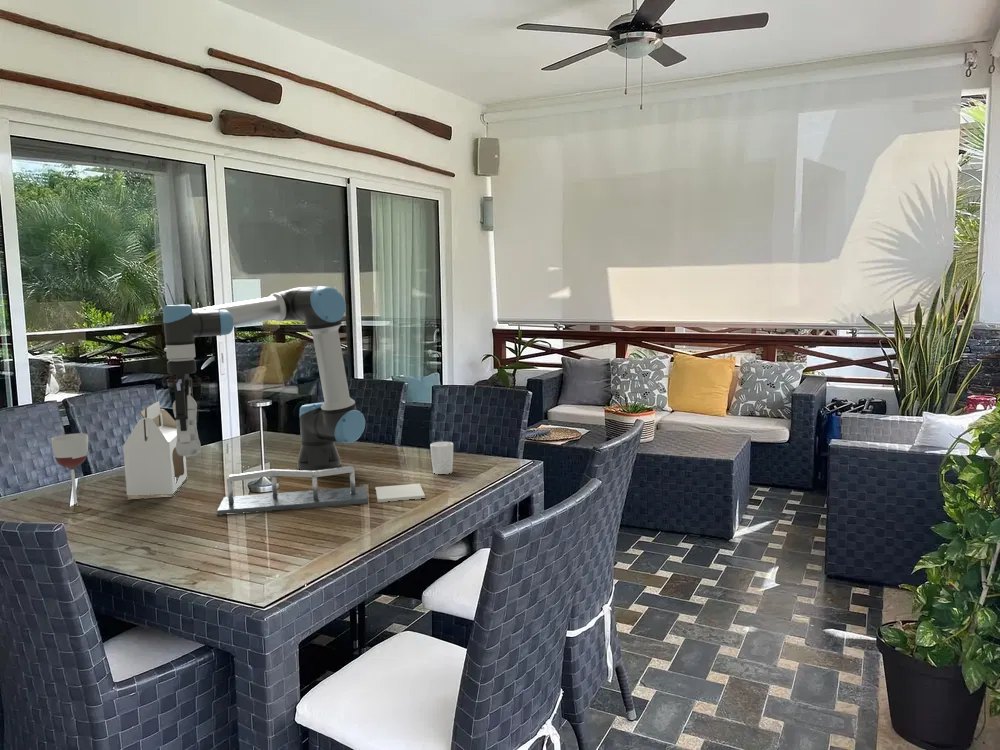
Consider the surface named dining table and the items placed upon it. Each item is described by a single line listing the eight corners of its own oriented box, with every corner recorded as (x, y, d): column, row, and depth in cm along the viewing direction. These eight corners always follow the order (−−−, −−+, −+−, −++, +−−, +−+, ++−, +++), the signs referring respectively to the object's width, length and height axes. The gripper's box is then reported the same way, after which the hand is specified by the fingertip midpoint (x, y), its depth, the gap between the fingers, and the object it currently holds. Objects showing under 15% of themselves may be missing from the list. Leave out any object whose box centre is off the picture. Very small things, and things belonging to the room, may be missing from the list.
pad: (375, 490, 232) (375, 487, 232) (419, 486, 235) (419, 483, 235) (377, 502, 218) (377, 499, 218) (425, 498, 221) (424, 495, 221)
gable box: (145, 482, 247) (139, 400, 244) (187, 479, 250) (181, 398, 246) (127, 501, 225) (119, 410, 222) (173, 497, 228) (166, 408, 225)
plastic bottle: (206, 454, 213) (201, 386, 211) (187, 459, 207) (182, 389, 205) (190, 452, 216) (184, 385, 214) (171, 457, 210) (165, 388, 208)
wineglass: (101, 506, 220) (94, 434, 217) (73, 515, 211) (66, 440, 208) (79, 504, 223) (72, 432, 220) (50, 513, 214) (43, 439, 211)
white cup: (455, 469, 256) (455, 441, 255) (452, 475, 248) (451, 446, 247) (433, 469, 257) (432, 441, 255) (429, 475, 249) (428, 446, 248)
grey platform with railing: (224, 501, 222) (222, 469, 221) (365, 490, 231) (364, 459, 230) (217, 515, 208) (215, 481, 207) (367, 503, 217) (366, 470, 216)
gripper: (174, 356, 217) (180, 433, 220) (159, 363, 198) (166, 447, 201) (201, 355, 218) (207, 432, 221) (188, 362, 200) (195, 445, 203)
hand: (187, 439), depth 211 cm, fingers closed on plastic bottle, 6 cm apart
